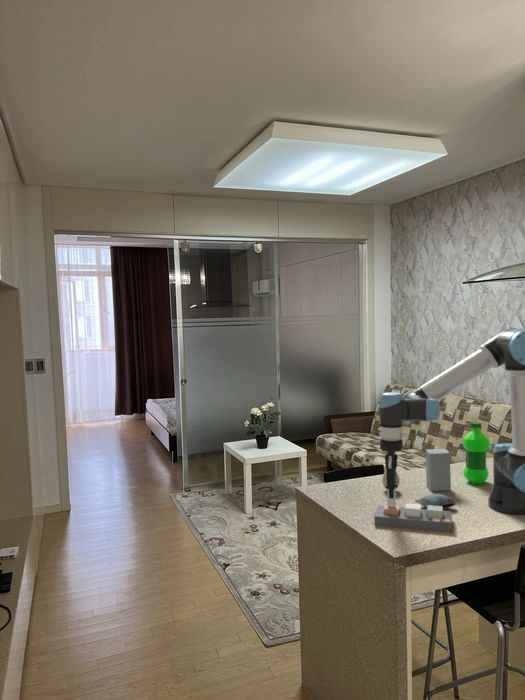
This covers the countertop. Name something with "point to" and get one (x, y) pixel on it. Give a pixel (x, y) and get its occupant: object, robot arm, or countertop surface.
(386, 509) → the terracotta key
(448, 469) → the skincare box
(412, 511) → the cream key
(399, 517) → the keypad board
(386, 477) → the egg
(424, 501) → the packaged food
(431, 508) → the sage key
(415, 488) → the countertop surface
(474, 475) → the plastic bottle
